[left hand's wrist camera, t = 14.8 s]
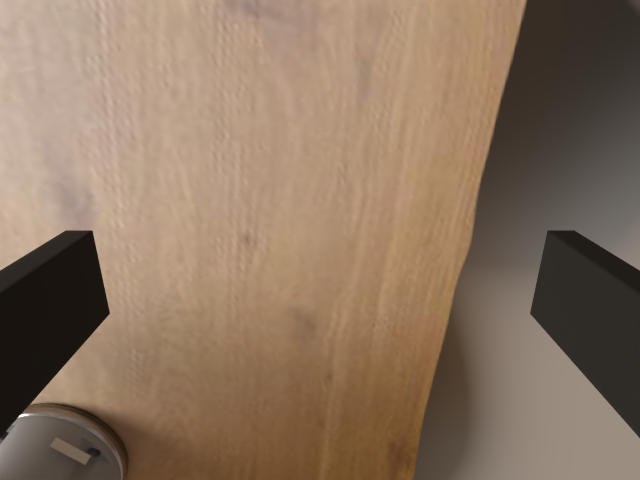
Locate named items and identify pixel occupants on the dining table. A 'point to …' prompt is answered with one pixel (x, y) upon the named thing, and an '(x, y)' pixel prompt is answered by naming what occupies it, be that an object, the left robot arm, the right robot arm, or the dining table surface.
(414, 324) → the dining table surface
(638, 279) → the left robot arm
